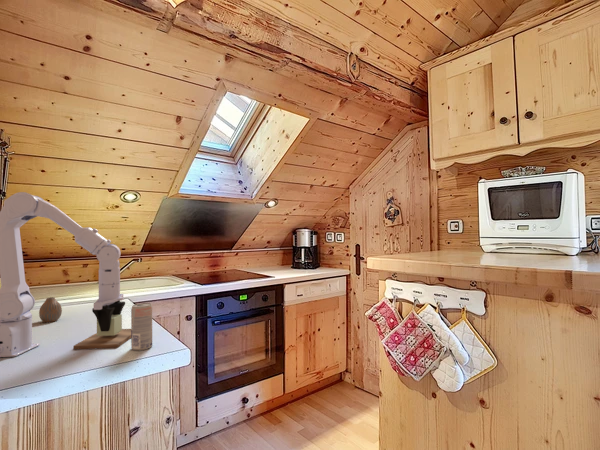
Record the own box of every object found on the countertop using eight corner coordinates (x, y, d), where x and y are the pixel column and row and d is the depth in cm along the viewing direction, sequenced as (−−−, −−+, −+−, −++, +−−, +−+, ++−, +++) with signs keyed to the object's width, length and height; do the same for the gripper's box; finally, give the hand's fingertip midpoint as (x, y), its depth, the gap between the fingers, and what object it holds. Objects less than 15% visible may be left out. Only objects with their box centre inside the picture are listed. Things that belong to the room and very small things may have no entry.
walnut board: (117, 347, 95) (117, 344, 95) (73, 349, 94) (73, 345, 95) (140, 331, 111) (140, 328, 111) (102, 332, 110) (102, 329, 110)
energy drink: (146, 343, 99) (146, 302, 99) (156, 347, 95) (155, 304, 96) (128, 348, 95) (127, 305, 95) (136, 352, 91) (136, 307, 92)
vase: (65, 320, 128) (65, 297, 129) (44, 324, 123) (44, 300, 123) (56, 318, 132) (56, 295, 132) (35, 322, 126) (35, 298, 126)
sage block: (114, 335, 101) (114, 318, 101) (96, 335, 100) (96, 319, 100) (121, 330, 106) (121, 314, 106) (105, 331, 105) (105, 315, 105)
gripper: (111, 287, 96) (111, 334, 96) (132, 280, 111) (133, 321, 111) (85, 287, 96) (85, 335, 96) (110, 280, 110) (110, 322, 110)
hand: (109, 328), depth 103 cm, fingers closed on sage block, 5 cm apart
